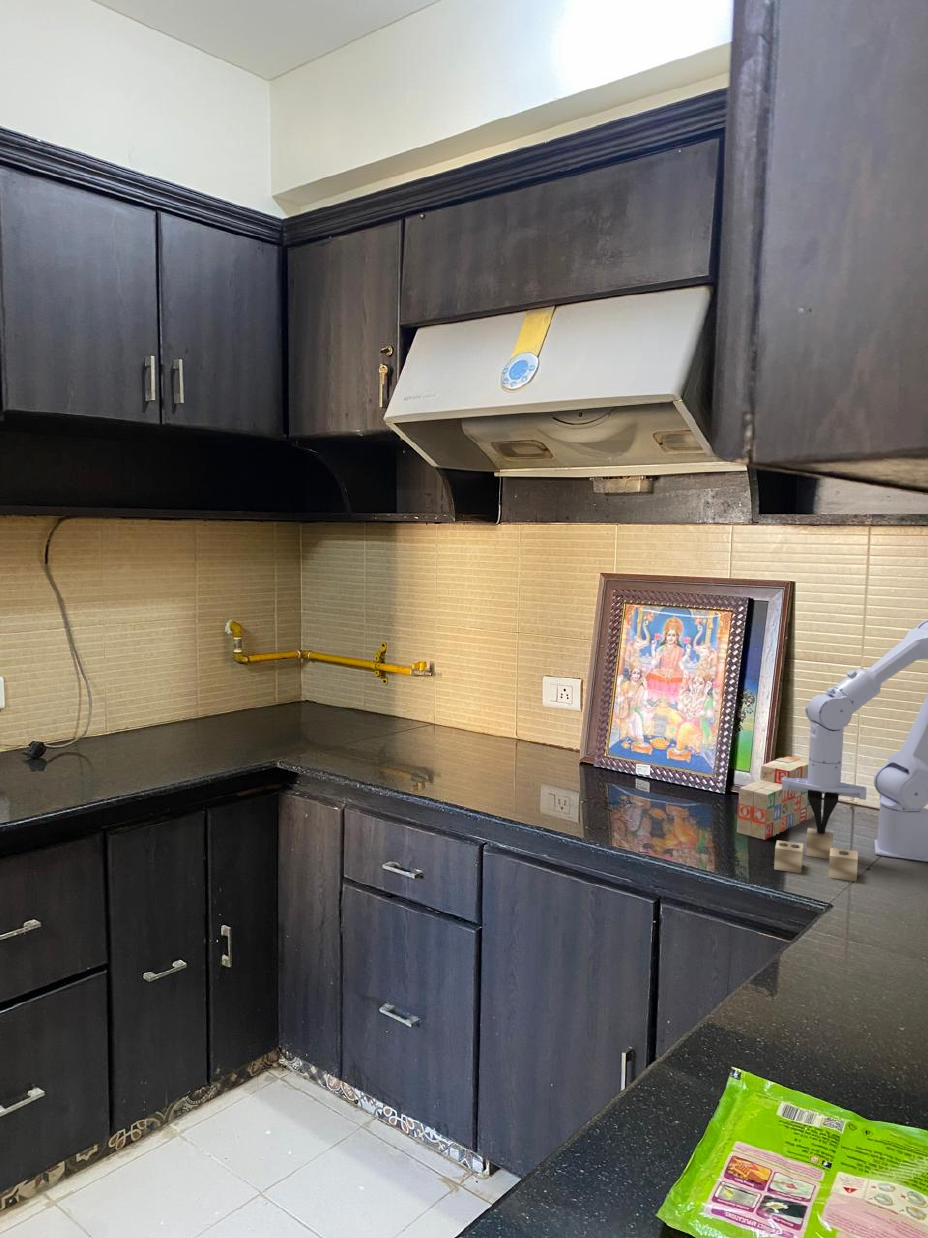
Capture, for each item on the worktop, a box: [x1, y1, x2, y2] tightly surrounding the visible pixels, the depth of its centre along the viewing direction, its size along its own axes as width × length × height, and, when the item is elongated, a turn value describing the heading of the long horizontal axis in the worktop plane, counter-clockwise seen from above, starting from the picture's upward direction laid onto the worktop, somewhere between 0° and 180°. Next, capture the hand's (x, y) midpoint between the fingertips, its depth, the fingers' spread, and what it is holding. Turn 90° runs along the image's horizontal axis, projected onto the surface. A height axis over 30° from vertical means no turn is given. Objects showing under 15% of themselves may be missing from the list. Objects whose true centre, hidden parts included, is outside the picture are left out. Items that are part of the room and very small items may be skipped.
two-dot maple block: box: [773, 839, 804, 874], centre depth 165 cm, size 4×4×4 cm
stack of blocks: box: [736, 756, 814, 841], centre depth 188 cm, size 21×6×12 cm, turn 136°
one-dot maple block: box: [827, 847, 859, 882], centre depth 162 cm, size 4×4×4 cm
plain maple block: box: [805, 827, 834, 860], centre depth 172 cm, size 4×4×4 cm
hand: (821, 831), depth 172 cm, fingers closed
